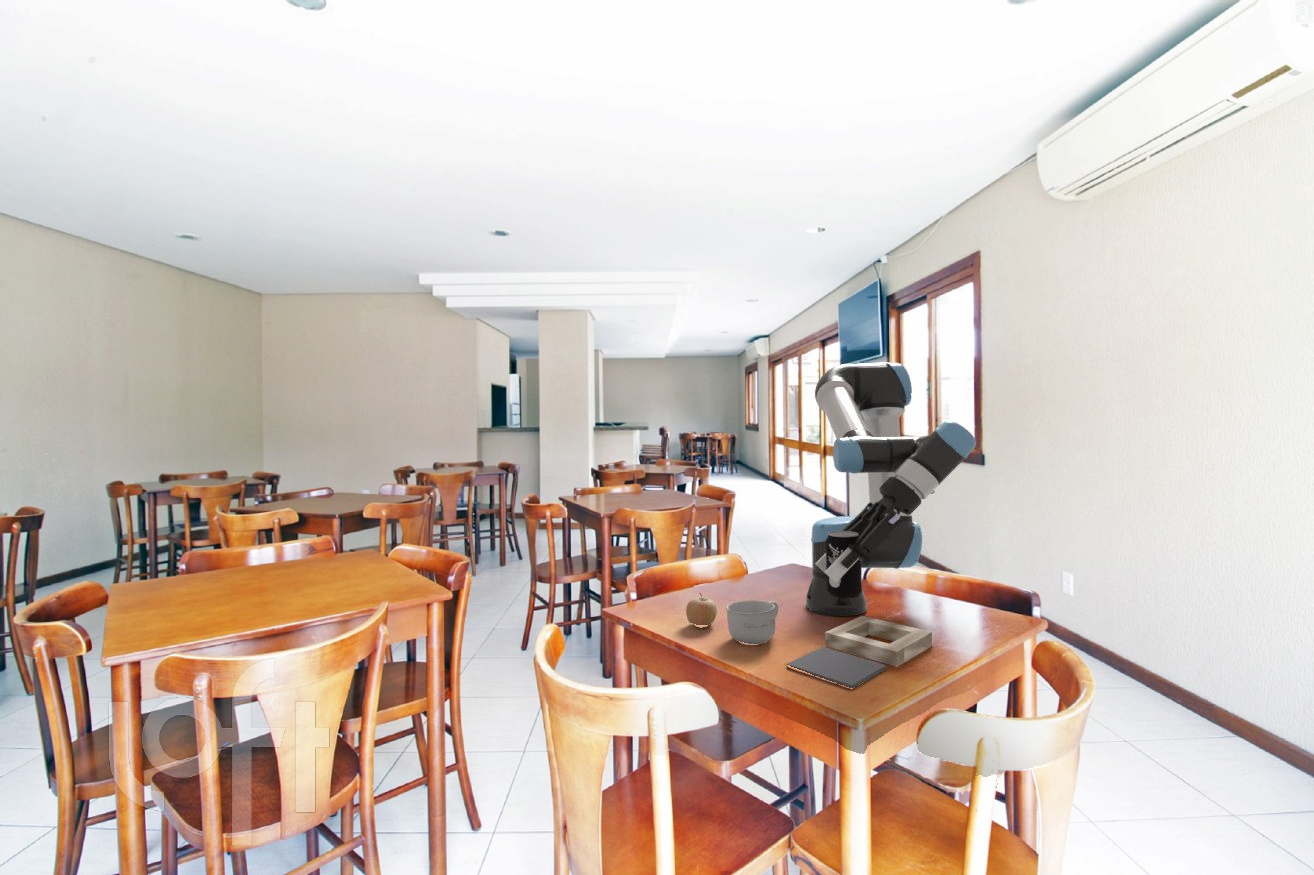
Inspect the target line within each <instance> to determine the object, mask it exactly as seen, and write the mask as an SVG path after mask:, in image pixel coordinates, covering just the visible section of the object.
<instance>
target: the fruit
mask: <svg viewBox="0 0 1314 875" xmlns="http://www.w3.org/2000/svg"><path fill="white" fill-rule="evenodd" d="M699 595H700V596H696V597H694V598H692V599H690V600H689V601H688V603H687V605H686V607H685V615H686V619H687V621H688V623H689V624H690V623H693V624H696V625H709V624H711V623H712V624H713V623H714V622H715V620H716V618H717V614H718V613H717V612H718V608H717V605H716V603H715V602H714V601H713V599H710V597H705V596H702V593H701V592H699ZM712 624H711V625H712Z"/></svg>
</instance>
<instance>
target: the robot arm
mask: <svg viewBox="0 0 1314 875" xmlns="http://www.w3.org/2000/svg"><path fill="white" fill-rule="evenodd" d="M910 377H911V376H910V374H909V372H908V370H907V368H906V367H905V366H904V365H903V364H901V363H898V362H885V361H884V362H873V363H869V362H867V363H843V364H839V365H836V366H834V367H831V368H830V369H829V370H827V371H826V372H825V373H823V374H822V376H821V377H820V378H819V380H818V382H817V383H816V386H815V389H814V398H815V401H816V404H817V406H818V408H819V409H820V410H821V411H822V412H824V413H825V416H826V417H827V420H828V422H829V424H830V427H831V429H832V431H833V433H834V434H833V435H834V436H835V438H836V439H835V440H834V443H833V448H832V460H833V466H834V468H835V470H836V471H837V472H839V473H846V474H847V473H849V474H850V473H851V474H866V473H867V476H868V477H867V479H868V498H869V502H868V503H867V504H866V506H865V507H864V508H863V509H862V510H861V512H859V513H858V514H857V515H856V516H851V515H849V516H845V515H844V516H842V515H841V516H833V517H826V518H822V519H820V520H817V521H816V522H814V523H813V524H812V529H811V540H810V541H811V554H812V555H811V558H812V560H811V562H812V563H811V564H812V565H811V567H812V569H811V573H812V578H811V581H810V583H809V587H808V590H807V593H806V596H805V607H806V606H807V607H806V608H807V609H808V608H809V609H811V610H812V611H811V610H810V611H811V612H814V611H815V612H814V613H817V614H820V613H821V615H825V614H827V616H835V617H850V616H858V615H861V614H865V612H867V598H866V596H865V593H864V590H863V589H862V592H861V593H860V595H859V596H858V597H855V598H839V597H835V596H832V595H830V593H829V592H828V591H827V576H826V574H827V575H828V576H829V577H830V578H831V579H832V580H833V581H834V582H835V583H836V582H837V581H838V580H839V579H840V578H841V577H842V576H843V575H844V574H845V573H846V572H847V571H848V570H849V569H850V568H851V567H852V566H853V565H854V564H855V562H856V561H857V560H858V559H859V557H860V558H861V569H894V570H895V569H896V570H898V569H907V568H911V567H914V566H915V565H917V563H918V561H919V559H920V556H921V553H922V548H923V532H922V531H921V530H922V528H921V525H920V523H919V522H916V521H913V515H912V513H914V511H916V510H917V509H918V507H919V506H920V505H922V500H926V499H927V498H928V497H929V495H933V494H935V493H936V490H935V489H936V488H938V487H939V485H941V483H942V482H943V481H944V480H946V479H947V478H948V476H949V475H950V474H951V473H952V472H953V471H954V470H955V469H956V468H957V467H959V466H960V464H961V463H962V462H964V460H965V459H967V458H968V457H969V455H970V454H971V453H972V452H973V450H974V449H975V447H976V446H977V440H976V438H975V437H974V435H973V434H972V433H971V432H970V431H969V430H968V429H967V428H966V427H965V426H963V425H961V424H959V423H958V422H955V421H953V420H945V421H943V422H942V423H941V424H940V425H939V426H937V427H935V429H934V431H933V432H932V433H931V434H928V435H921V436H901V429H900V427H901V426H900V417H901V416H902V415H903V414H904V413H905V412H906V411H905V410H906V409H905V407H907V406H908V405H910V404H911V401H912V392H913V391H912V390H913V388H912V381H911V378H910ZM832 531H851V532H856V533H858V537H859V538H858V539H857V541H856V542H855V543H854V545H853V544H849V545H848V547H849V548H847V549H846V550H845V551H844V552H843V553H842V554H841V555H840V556H839V557H838V558H837V560H836V561H835V562H834V563H833V564H832V565H831V566H830V567H829V568H828V569H827V570H826V539H827V537H828V532H832ZM809 609H808V610H809Z"/></svg>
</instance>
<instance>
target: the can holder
mask: <svg viewBox="0 0 1314 875" xmlns="http://www.w3.org/2000/svg"><path fill="white" fill-rule="evenodd" d="M867 636H871V637H874V638H875V637H876V638H879V639H883V640H887V641H892V642H890V643H887V642H883V641H880V640H877V639H876V640H875V639H873V638H869V637H867ZM825 645H826V646H828V647H827V648H830V647H832V648H831V649H833V648H836V649H835V650H837V649H838V650H837V651H840V650H842V651H841V652H844V651H846V652H845V653H847V652H848V653H847V654H851V653H852V654H851V655H854V654H855V655H854V656H857V657H860V658H864V657H865V658H864V659H867V660H871V661H874V662H878V661H879V662H878V663H881V664H884V665H890V666H892V665H893V667H896V668H897V667H899V666H901V665H903V664H904V663H906V662H908V661H909V660H911V659H913V658H915V657H916V656H918V655H919V654H921V653H923V652H925V651H926V650H927V649H930V648H931V647H933V632H932V631H929V630H926V629H921V628H916V627H913V626H908V625H904V624H900V623H897V622H896V623H895V622H892V621H891V622H890V621H887V620H883V619H878V618H874V617H871V616H865V615H860V616H858V617H856V618H853V620H849V621H847V622H845V623H843V624H840V625H838V626H836V627H834V628H831V629H830V630H826V631H825V632H824V646H825ZM826 646H825V647H826Z"/></svg>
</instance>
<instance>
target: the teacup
mask: <svg viewBox="0 0 1314 875" xmlns="http://www.w3.org/2000/svg"><path fill="white" fill-rule="evenodd" d="M725 610H726V617H727V627H728V631H729V634H730V636H731V638H732V639H734V640H736V641H737V640H738V641H740V642H744V643H748V644H761V645H763V644H762V643H764V644H766V643H768V642H769V640H770V639H771V638H772V637H774V635H775V633H776V617H777V615H778V613H779V605H778V603H777V602H776V601H774V600H768V601H766V600H764V601H763V600H742V601H741V600H740V601H733V602H731V603H729V604H727V605H726V608H725ZM765 642H766V643H765Z"/></svg>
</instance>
